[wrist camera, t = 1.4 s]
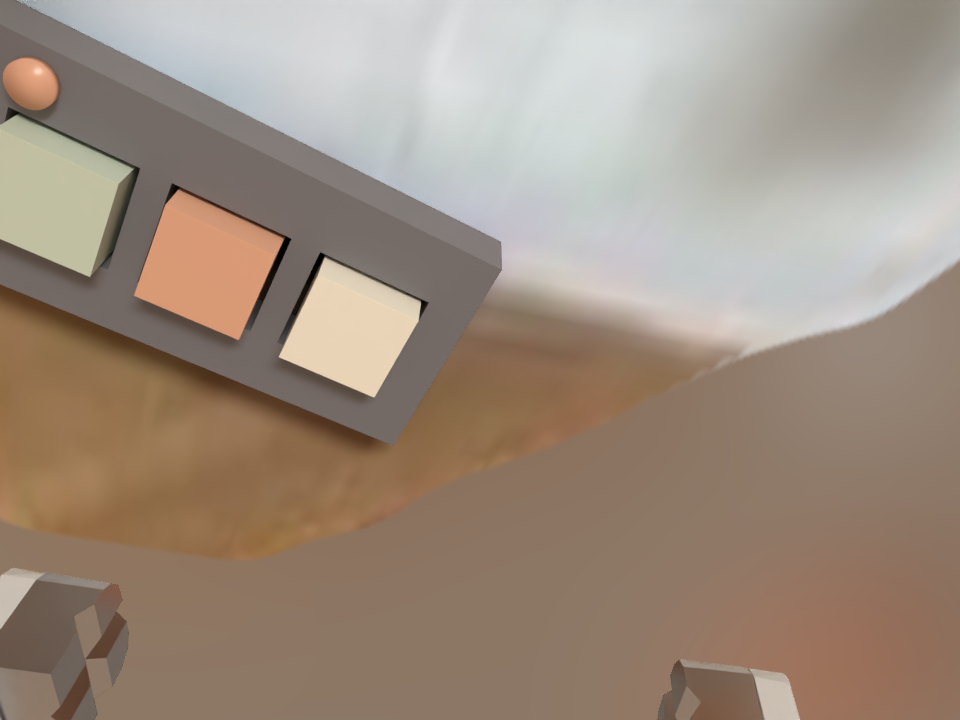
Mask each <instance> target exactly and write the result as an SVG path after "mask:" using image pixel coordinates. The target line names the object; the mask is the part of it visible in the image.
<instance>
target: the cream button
mask: <svg viewBox="0 0 960 720" xmlns="http://www.w3.org/2000/svg"><path fill="white" fill-rule="evenodd" d="M421 300H422V299H420V298H418V297H416V296H414V295H412V294H409V293H407V292H405V291H403V290H401V289H399V288H396V287H394V286H392V285H390V284H388V283H386V282H384V281H381V280H379V279H377V278H375V277H373V276H371V275H369V274H366V273H364V272H362V271H360V270H358V269H356V268H353V267H351V266H349V265H347V264H345V263H343V262H341V261H338V260H336V259H334V258H332V257H330V256H328V255H326V254H325V255H324V258H323V260H322V262H321V264H320V266H319V268H318V270H317V272H316V274H315V276H314V278H313V281H312V283H311V285H310V287H309V289H308V291H307V293H306V295H305V297H304V299H303V301H302V304H301V306H300V308H299V310H298V312H297V314H296V316H295V318H294V320H293V322H292V325H291V327H290V330H289V332H288V335H287V337H286V340H285V342H284V345H283V347H282V350H281V353H280V355H279V357H280V358H282V359H284V360H287V361H289V362H291V363H294V364H296V365H299V366H301V367H303V368H306V369H308V370H310V371H313V372H315V373H317V374H320V375H322V376H324V377H327V378H329V379H332V380H334V381H336V382H339V383H341V384H343V385H346V386H348V387H350V388H353V389H355V390H357V391H360V392H362V393H365V394H367V395H369V396H372V397H375V396H376V394H377V392H378V390H379V389H380V387H381V385H382V383H383V382H384V380H385V378H386V376H387V375H388V373H389V371H390V370H391V368H392V366H393V364H394V363H395V361H396V359H397V357H398V356H399V354H400V352H401V350H402V349H403V347H404V345H405V343H406V342H407V340H408V338H409V337H410V335H411V333H412V331H413V330H414V328H415V326H416V324H417V323H418V321H419V314H420V307H421Z"/></svg>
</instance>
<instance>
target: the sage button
mask: <svg viewBox="0 0 960 720" xmlns="http://www.w3.org/2000/svg"><path fill="white" fill-rule="evenodd" d="M139 171H140V168H138V167H136V166H134V165H132V164H130V163H128V162H126V161H123V160H121V159H119V158H117V157H115V156H113V155H110V154H108V153H106V152H104V151H102V150H100V149H98V148H95V147H93V146H91V145H89V144H87V143H85V142H83V141H80V140H78V139H76V138H74V137H72V136H70V135H67V134H65V133H63V132H61V131H59V130H57V129H55V128H52V127H50V126H48V125H46V124H44V123H42V122H40V121H37V120H35V119H33V118H31V117H29V116H27V115H24V114H22V113H19V114H17V115H16V116H14V117H12V118H11V119H9V120H8V121H6V122H4V123H3V124H1V125H0V239H1V240H4V241H6V242H9V243H11V244H13V245H16V246H18V247H20V248H23V249H25V250H27V251H30V252H32V253H34V254H37V255H39V256H42V257H44V258H46V259H49V260H51V261H53V262H56V263H58V264H60V265H63V266H65V267H67V268H70V269H72V270H75V271H77V272H79V273H82V274H84V275H86V276H89V277H90V276H91V275H92V274H93V273H94V272H95V271H96V270H97V268H98V267H99V266H100V265H101V264H102V263H103V262H104V261H105V259H106V258H107V257H108V256H109V255H110V254H111V253H112V251H113V250H114V249H115V246H116V243H117V240H118V237H119V234H120V230H121V227H122V224H123V221H124V218H125V215H126V212H127V209H128V205H129V202H130V199H131V196H132V193H133V190H134V187H135V184H136V180H137V177H138V174H139Z"/></svg>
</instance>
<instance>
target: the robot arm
mask: <svg viewBox="0 0 960 720" xmlns="http://www.w3.org/2000/svg"><path fill="white" fill-rule="evenodd" d="M121 602H122V597H121V592H120V588H119V585H118V584H112V583H106V582H100V581H94V580H88V579H82V578H76V577H70V576H63V575H58V574H51V573H45V572H38V571H31V570H24V569H18V568H12V569H10V570H9V571H7V572H6V573H4V574H3V575H1V576H0V720H94V719H95V718H96V716H97V710H96V705H95V701H94V699H95V698H96V697H97V696H99V695H100V694H102V693H104V692H105V691H106V690H108V689H109V688H111V687H112V686H113V684H114V682H115V680H116V678H117V677H118V675H119V673H120V671H121V668H122V666H123V662H124V659H125V655H126V652H127V649H128V635H129V632H128V627H127V621H126V620H125V619H124V618H123V617H122V616H121V615H120V614H118V612H116V611H117V609H118V607H119V606H120V604H121ZM670 678H671V686H672V690H671V691H669V692H667V693H666V694H664V695H663V697H662V700H661V704H660V707H659V711H658V719H657V720H800V718H799V714H798V711H797V707H796V704H795V700H794V696H793V693H792V689H791V686H790V682H789V680H788V678H787V677H786V676H785V674H783V673H777V672H770V671H762V670H755V669H746V668H745V667H738V666H730V665H721V664H713V663H704V662H696V661H689V660H680V659H679V660H678V661H677V662H676V663H675V664H674V666H673V669H672V672H671V674H670Z"/></svg>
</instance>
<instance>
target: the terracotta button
mask: <svg viewBox="0 0 960 720" xmlns="http://www.w3.org/2000/svg"><path fill="white" fill-rule="evenodd" d="M285 237H286V236H285V235H283V234H280V233H278V232H276V231H274V230H272V229H270V228H267V227H265V226H263V225H261V224H259V223H257V222H255V221H252V220H250V219H248V218H246V217H244V216H242V215H240V214H237V213H235V212H233V211H231V210H229V209H227V208H224V207H222V206H220V205H218V204H216V203H214V202H212V201H209V200H207V199H205V198H203V197H201V196H199V195H196V194H194V193H192V192H190V191H188V190H186V189H184V188H181V187H180V188H179V189H178V191H177V192H176V193H175V194H174V195H173V196H172V198H171V199H170V200H169V201H168V202H167V204H166V205H165V207H164V210H163V213H162V216H161V219H160V222H159V225H158V227H157V230H156V233H155V236H154V239H153V242H152V245H151V248H150V251H149V254H148V256H147V259H146V262H145V265H144V268H143V271H142V274H141V277H140V280H139V282H138V285H137V288H136V291H135V294H134V296H136V297H138V298H141V299H143V300H145V301H148V302H150V303H152V304H155V305H157V306H159V307H162V308H164V309H166V310H169V311H171V312H174V313H176V314H178V315H181V316H183V317H185V318H188V319H190V320H192V321H195V322H197V323H199V324H202V325H204V326H207V327H209V328H211V329H214V330H216V331H218V332H221V333H223V334H225V335H228V336H230V337H232V338H235V339H237V340H239V338H240V336H241V334H242V332H243V330H244V328H245V326H246V324H247V322H248V320H249V318H250V316H251V314H252V312H253V309H254V307H255V305H256V303H257V300H258V298H259V296H260V294H261V291H262V289H263V287H264V285H265V282H266V280H267V278H268V276H269V273H270V271H271V269H272V267H273V264H274V262H275V260H276V258H277V255H278V253H279V251H280V248H281V246H282V244H283V242H284V239H285Z"/></svg>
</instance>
